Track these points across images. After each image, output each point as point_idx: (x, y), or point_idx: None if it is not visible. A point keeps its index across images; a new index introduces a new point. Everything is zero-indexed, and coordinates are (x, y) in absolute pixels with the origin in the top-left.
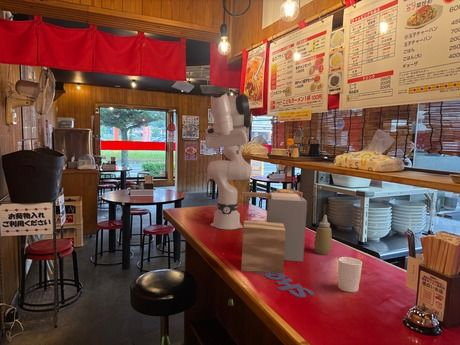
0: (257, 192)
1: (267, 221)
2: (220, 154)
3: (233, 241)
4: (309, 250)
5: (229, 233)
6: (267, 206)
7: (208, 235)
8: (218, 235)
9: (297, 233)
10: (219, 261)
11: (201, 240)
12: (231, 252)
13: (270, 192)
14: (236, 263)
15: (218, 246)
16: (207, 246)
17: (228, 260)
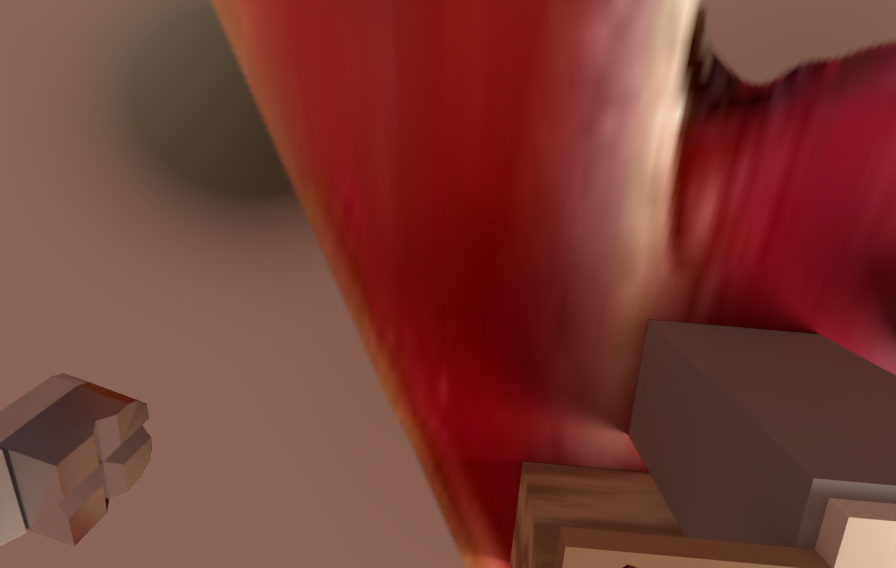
0: (709, 560)
1: (696, 507)
2: (117, 461)
3: (498, 188)
4: (891, 290)
5: (480, 6)
6: (755, 456)
7: (350, 83)
8: (411, 71)
9: None
10: (428, 482)
11: (322, 196)
12: (481, 370)
13: (847, 521)
14: (496, 496)
15: (418, 289)
16: (364, 297)
17: (465, 468)
